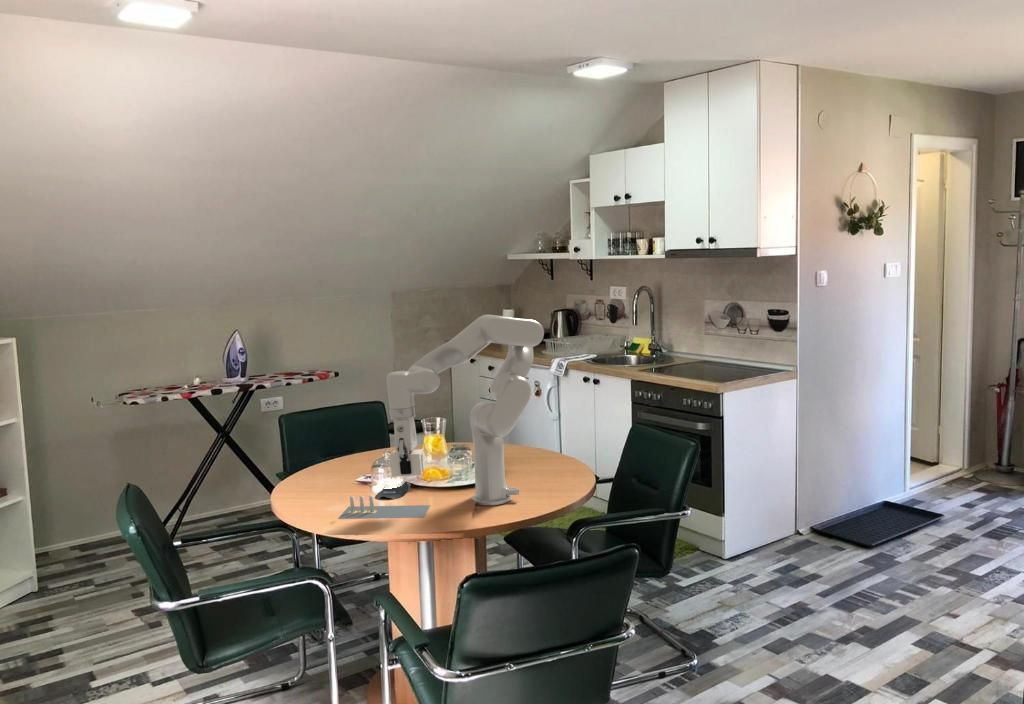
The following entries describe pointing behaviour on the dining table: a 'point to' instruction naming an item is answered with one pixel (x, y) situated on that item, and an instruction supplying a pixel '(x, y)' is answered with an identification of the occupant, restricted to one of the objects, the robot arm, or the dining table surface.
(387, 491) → the electronic device
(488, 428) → the robot arm
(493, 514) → the dining table surface
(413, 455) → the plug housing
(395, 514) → the header board
